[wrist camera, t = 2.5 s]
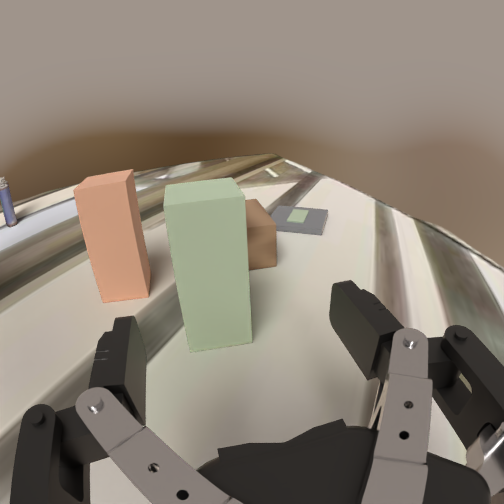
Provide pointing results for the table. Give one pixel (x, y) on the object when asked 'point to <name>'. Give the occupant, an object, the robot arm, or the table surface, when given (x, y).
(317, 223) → the tile
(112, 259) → the terracotta pillar
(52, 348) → the table surface
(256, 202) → the walnut base
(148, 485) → the robot arm
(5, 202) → the flask
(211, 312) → the sage pillar
